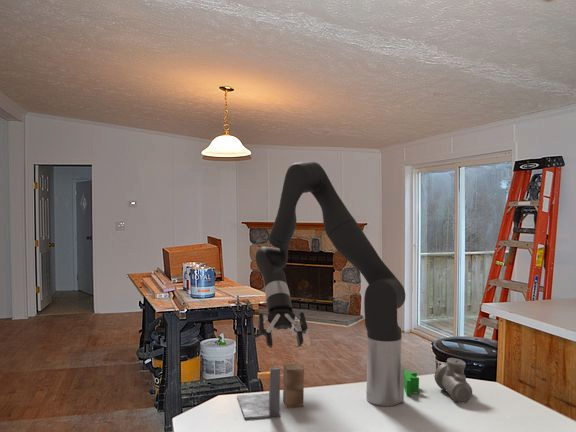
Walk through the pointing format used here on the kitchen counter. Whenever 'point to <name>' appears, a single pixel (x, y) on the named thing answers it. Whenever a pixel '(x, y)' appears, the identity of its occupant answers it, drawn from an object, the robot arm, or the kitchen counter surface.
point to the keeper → (263, 398)
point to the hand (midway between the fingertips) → (285, 345)
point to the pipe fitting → (453, 379)
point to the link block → (293, 385)
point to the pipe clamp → (411, 382)
